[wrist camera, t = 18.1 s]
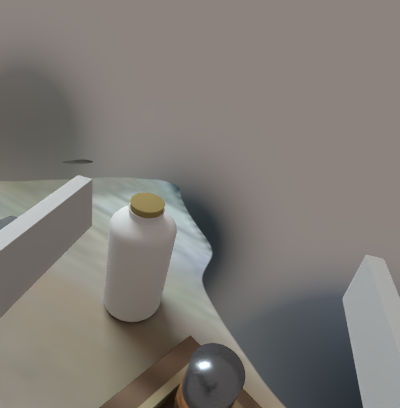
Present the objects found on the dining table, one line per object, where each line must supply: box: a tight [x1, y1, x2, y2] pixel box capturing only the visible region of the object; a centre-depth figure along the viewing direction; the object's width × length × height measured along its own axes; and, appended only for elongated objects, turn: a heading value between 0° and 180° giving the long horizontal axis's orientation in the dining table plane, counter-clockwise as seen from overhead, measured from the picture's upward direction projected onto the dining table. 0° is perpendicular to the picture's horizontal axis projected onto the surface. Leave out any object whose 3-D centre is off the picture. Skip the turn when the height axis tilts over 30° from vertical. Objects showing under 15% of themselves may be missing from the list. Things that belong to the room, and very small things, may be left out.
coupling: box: [173, 343, 245, 408], centre depth 33 cm, size 5×5×12 cm
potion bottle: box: [103, 193, 177, 322], centre depth 45 cm, size 8×8×18 cm
